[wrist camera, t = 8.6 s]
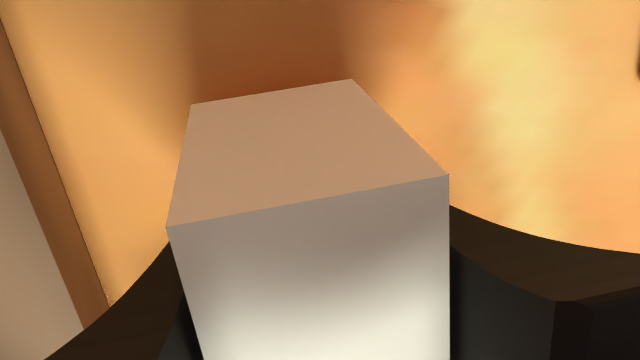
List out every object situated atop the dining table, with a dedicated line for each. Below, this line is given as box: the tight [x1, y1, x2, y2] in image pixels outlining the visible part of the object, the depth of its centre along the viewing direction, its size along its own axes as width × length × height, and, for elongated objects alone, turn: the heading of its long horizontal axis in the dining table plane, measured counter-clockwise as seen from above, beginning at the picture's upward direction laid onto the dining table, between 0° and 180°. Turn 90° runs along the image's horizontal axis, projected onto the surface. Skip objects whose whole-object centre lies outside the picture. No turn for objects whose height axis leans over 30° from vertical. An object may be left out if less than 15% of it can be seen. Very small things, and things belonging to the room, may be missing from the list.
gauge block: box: [166, 79, 450, 360], centre depth 11 cm, size 4×6×6 cm, turn 7°
